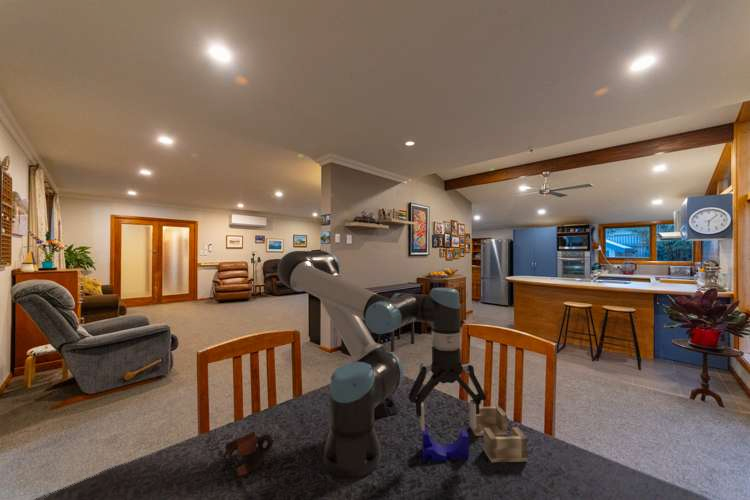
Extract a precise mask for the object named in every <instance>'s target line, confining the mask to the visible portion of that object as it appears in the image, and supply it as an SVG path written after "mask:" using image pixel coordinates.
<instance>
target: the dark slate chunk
mask: <svg viewBox="0 0 750 500" xmlns="http://www.w3.org/2000/svg"><path fill="white" fill-rule="evenodd" d="M398 413H399V411H398V407H397V404H396V402H395V401H394V399H393V394H392V395H390V396H389V397H387V398H386V399H385V400H384V401H382V402H381V403H380V404H379V405H377V406H376V407H375V408H374V418H385V417H388V416H392V415H397V414H398Z"/></svg>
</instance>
